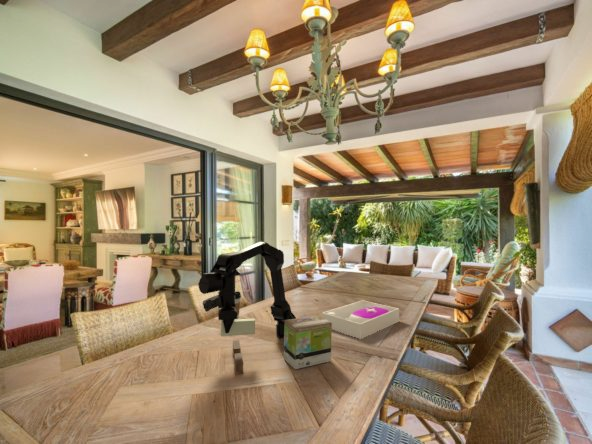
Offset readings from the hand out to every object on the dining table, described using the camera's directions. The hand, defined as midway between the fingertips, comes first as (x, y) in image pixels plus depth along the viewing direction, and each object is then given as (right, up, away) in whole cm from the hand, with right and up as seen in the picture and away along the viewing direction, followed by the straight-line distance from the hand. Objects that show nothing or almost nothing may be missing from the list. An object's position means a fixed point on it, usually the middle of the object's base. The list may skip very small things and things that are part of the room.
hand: (226, 331), depth 108 cm
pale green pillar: (+4, -1, +1) cm, 4 cm away
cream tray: (+58, -12, +42) cm, 73 cm away
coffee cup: (-7, -11, +44) cm, 46 cm away
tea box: (+29, -11, +2) cm, 32 cm away
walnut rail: (+4, -11, +1) cm, 12 cm away
